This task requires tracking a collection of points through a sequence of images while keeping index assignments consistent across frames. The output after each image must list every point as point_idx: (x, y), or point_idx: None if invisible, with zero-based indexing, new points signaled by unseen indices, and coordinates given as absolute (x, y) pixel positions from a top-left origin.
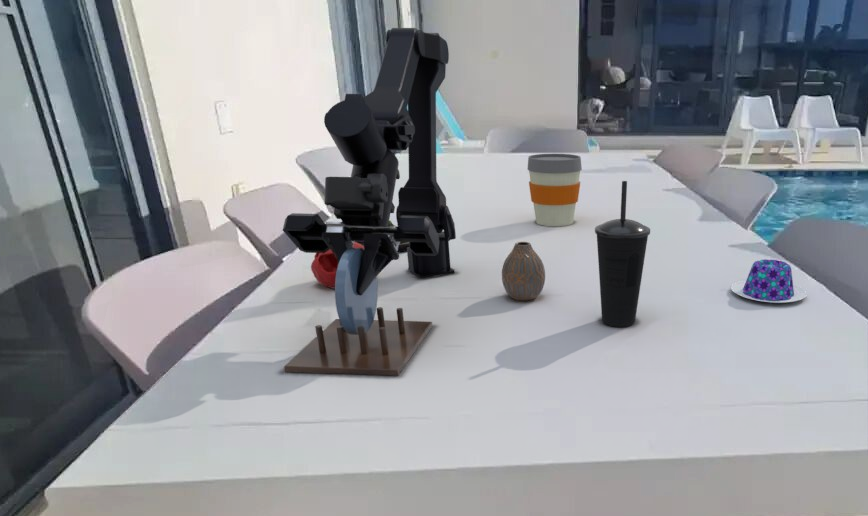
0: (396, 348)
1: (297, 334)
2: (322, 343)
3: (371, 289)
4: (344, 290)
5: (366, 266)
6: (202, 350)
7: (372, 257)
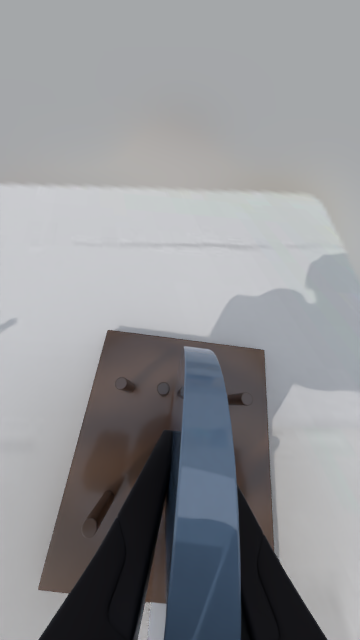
0: (114, 410)
1: (321, 522)
2: (232, 395)
3: (155, 574)
4: (184, 347)
5: (128, 519)
6: None
7: (78, 582)
